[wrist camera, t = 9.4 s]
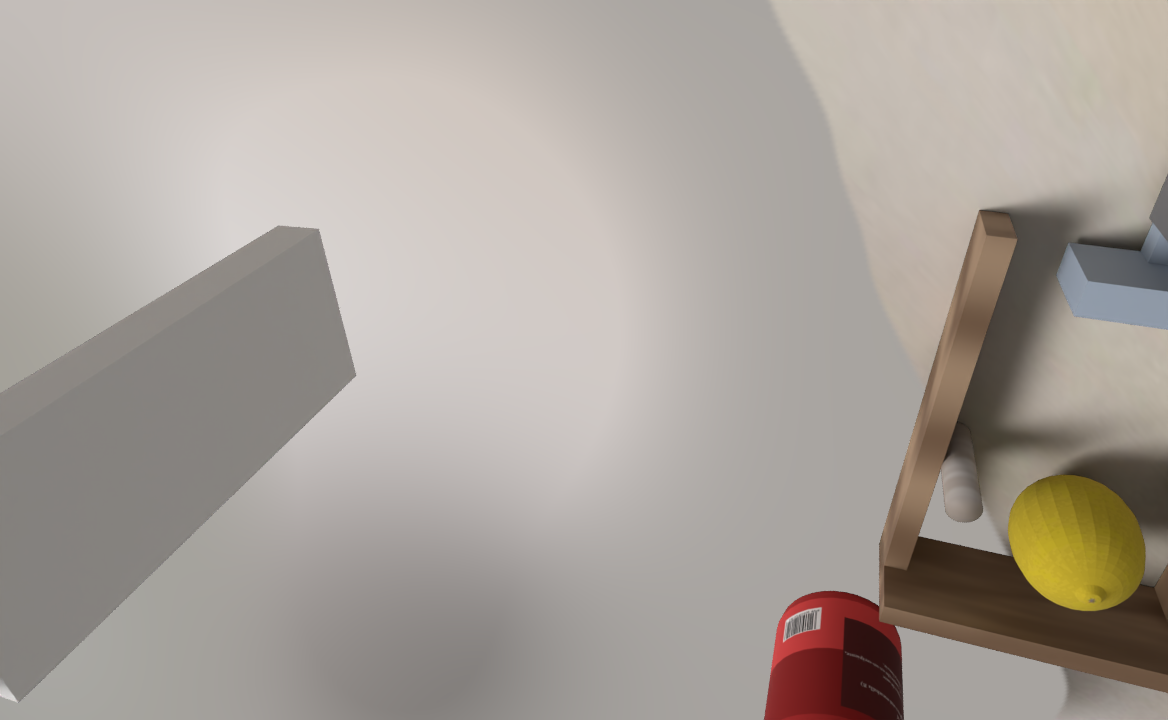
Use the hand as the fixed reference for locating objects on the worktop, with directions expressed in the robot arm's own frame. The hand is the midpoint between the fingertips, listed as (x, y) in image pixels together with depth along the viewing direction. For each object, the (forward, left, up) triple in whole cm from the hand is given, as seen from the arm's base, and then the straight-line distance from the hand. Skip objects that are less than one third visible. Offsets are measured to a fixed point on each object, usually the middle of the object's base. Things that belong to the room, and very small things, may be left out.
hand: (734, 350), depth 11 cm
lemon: (+22, +15, -28) cm, 39 cm away
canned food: (+37, +7, -28) cm, 47 cm away
